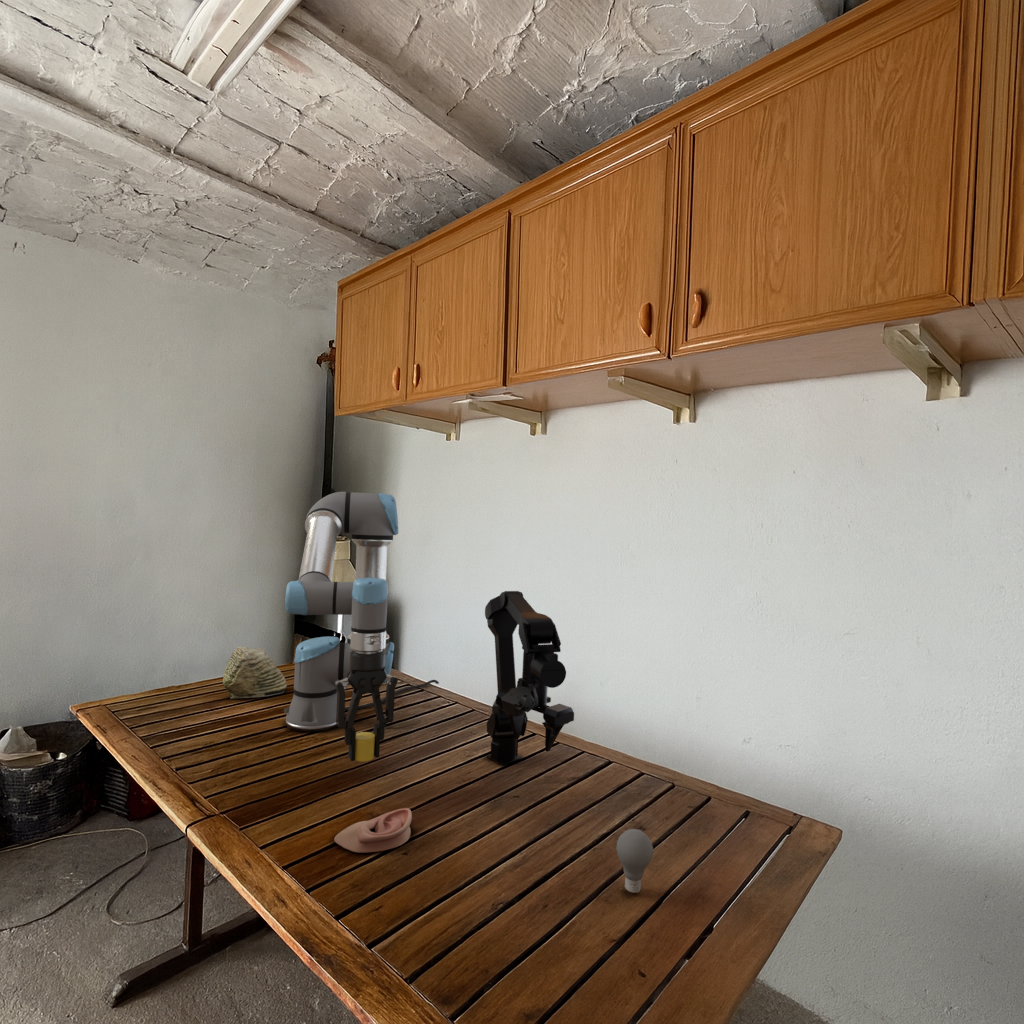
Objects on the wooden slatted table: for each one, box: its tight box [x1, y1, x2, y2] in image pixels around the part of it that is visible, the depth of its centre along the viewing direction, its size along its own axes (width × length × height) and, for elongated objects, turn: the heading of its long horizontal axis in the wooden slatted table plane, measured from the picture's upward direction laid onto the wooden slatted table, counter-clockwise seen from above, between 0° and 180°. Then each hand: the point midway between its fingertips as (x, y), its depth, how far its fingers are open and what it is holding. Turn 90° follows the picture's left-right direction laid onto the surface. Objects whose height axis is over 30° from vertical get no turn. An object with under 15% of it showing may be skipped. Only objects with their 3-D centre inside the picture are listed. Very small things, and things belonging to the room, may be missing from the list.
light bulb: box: [615, 828, 654, 894], centre depth 106 cm, size 6×6×10 cm
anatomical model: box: [333, 807, 413, 854], centre depth 119 cm, size 13×4×12 cm
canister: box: [354, 731, 375, 763], centre depth 138 cm, size 5×5×5 cm
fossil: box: [222, 646, 288, 699], centre depth 198 cm, size 9×18×15 cm, turn 132°
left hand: (363, 756), depth 138 cm, fingers closed on canister, 5 cm apart
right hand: (532, 744), depth 140 cm, fingers open, 9 cm apart
